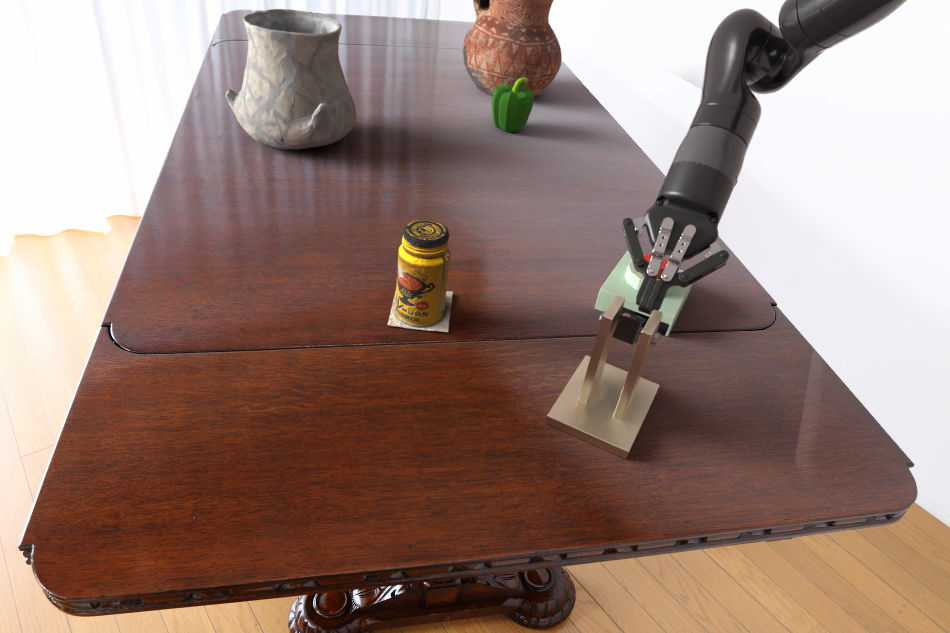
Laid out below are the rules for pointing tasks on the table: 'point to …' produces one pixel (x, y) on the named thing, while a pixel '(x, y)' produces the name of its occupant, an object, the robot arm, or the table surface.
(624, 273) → the stop block
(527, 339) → the table surface
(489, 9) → the jug
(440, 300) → the condiment
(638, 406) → the bracket
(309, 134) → the vessel
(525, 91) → the bell pepper
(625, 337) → the lever
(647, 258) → the stop button
